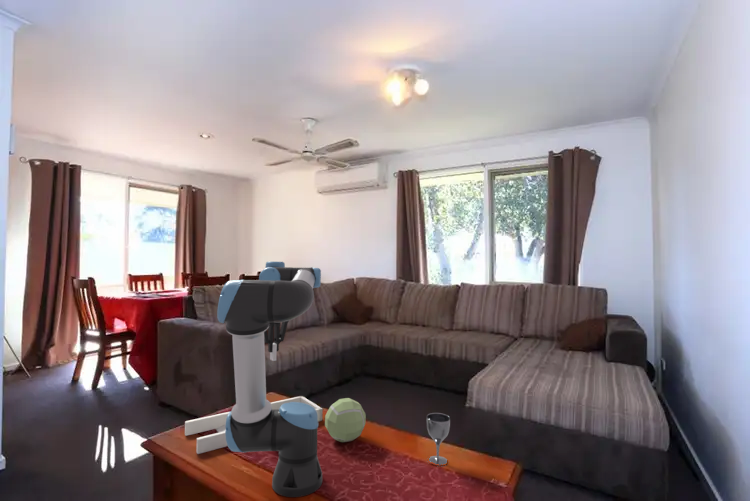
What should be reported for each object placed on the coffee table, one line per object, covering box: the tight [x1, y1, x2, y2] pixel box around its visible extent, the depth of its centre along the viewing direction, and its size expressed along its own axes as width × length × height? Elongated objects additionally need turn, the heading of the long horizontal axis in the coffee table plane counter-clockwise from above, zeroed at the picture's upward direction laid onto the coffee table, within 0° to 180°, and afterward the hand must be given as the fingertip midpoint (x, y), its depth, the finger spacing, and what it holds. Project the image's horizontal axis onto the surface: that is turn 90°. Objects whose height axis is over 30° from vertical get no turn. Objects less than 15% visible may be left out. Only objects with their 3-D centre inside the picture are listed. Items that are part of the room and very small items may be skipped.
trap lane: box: [184, 395, 324, 455], centre depth 163 cm, size 19×50×7 cm, turn 128°
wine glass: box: [426, 412, 451, 465], centre depth 138 cm, size 8×8×15 cm
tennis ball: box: [324, 397, 367, 443], centre depth 153 cm, size 15×15×15 cm
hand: (273, 360), depth 158 cm, fingers closed
